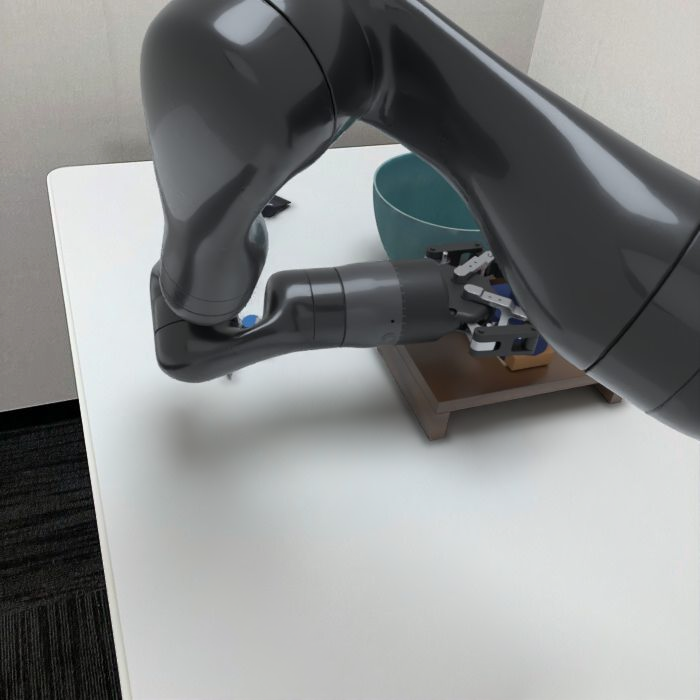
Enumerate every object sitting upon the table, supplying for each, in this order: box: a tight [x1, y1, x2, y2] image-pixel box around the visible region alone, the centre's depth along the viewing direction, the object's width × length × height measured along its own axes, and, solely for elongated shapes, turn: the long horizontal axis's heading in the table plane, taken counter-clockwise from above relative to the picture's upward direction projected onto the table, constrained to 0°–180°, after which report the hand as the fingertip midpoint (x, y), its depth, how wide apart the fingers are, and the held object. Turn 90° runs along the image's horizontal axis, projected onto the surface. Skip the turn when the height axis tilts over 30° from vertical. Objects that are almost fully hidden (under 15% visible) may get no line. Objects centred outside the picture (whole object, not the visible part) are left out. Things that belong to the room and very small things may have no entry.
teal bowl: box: [372, 151, 490, 260], centre depth 91 cm, size 18×18×12 cm
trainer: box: [489, 283, 554, 371], centre depth 75 cm, size 9×5×11 cm, turn 20°
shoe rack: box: [376, 274, 624, 441], centre depth 79 cm, size 14×22×8 cm, turn 110°
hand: (550, 290), depth 72 cm, fingers open, 8 cm apart
